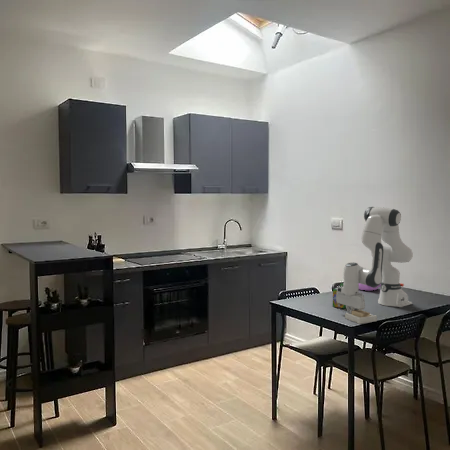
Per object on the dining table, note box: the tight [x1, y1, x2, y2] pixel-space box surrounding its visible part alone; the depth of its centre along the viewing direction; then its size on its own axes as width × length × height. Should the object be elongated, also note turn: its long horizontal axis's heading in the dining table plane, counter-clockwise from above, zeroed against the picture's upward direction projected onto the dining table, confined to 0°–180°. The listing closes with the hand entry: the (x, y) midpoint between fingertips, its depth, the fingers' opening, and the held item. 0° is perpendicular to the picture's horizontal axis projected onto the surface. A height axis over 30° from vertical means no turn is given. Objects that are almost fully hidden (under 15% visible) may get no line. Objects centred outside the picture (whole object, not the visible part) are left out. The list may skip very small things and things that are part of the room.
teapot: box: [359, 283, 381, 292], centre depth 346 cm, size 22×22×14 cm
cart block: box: [352, 309, 371, 317], centre depth 262 cm, size 6×8×5 cm
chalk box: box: [332, 282, 347, 310], centre depth 293 cm, size 9×9×15 cm
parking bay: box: [344, 312, 378, 325], centre depth 263 cm, size 14×12×3 cm
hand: (349, 313), depth 270 cm, fingers closed
